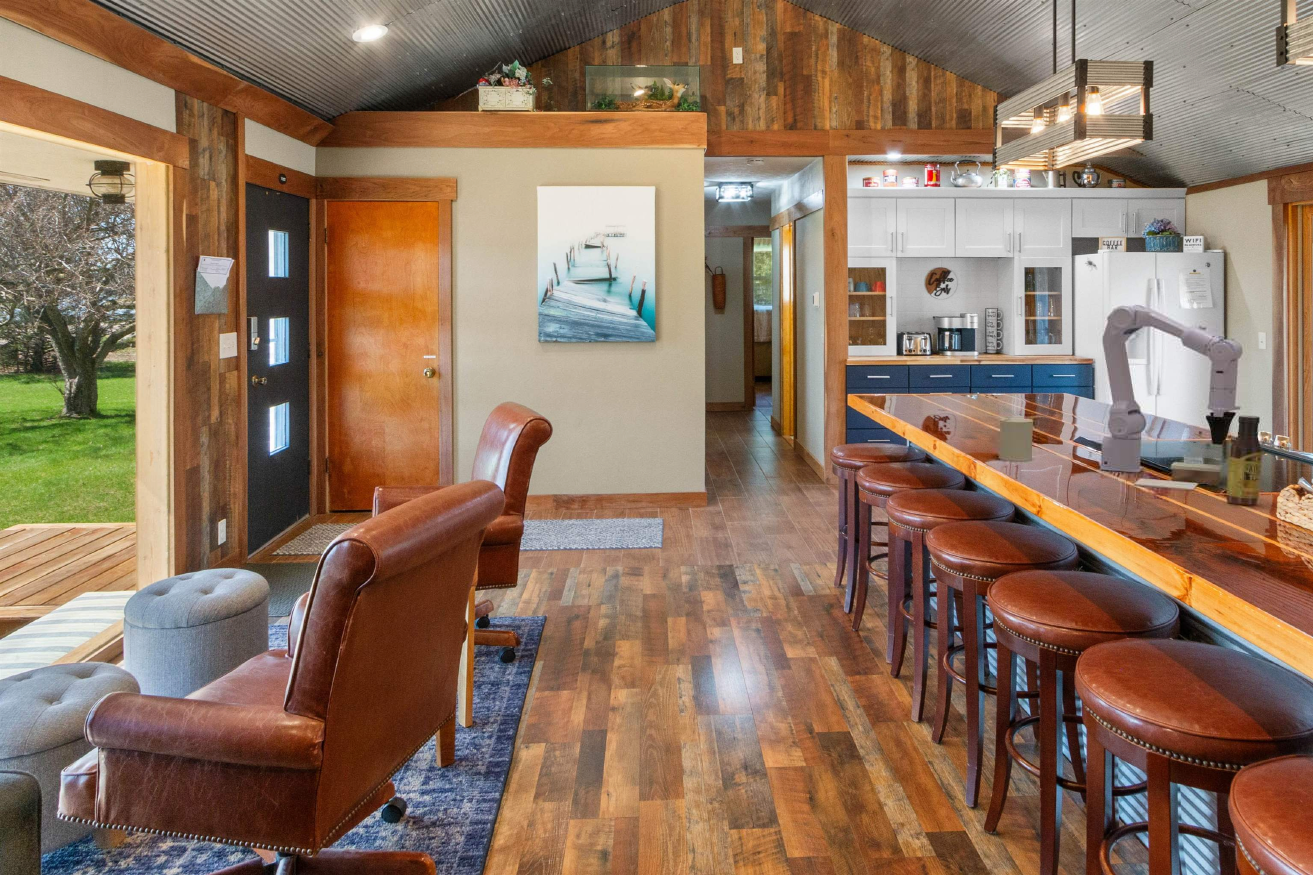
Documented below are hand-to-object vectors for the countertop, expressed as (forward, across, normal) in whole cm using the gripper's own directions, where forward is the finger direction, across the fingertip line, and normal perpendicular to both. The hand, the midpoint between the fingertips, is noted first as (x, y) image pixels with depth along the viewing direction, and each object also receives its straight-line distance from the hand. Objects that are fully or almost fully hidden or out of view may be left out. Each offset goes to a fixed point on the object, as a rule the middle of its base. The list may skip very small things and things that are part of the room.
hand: (1219, 442), depth 240 cm
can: (+10, +10, +52) cm, 54 cm away
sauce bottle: (+10, -26, -8) cm, 29 cm away
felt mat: (+10, -12, +10) cm, 18 cm away
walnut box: (+10, -4, +4) cm, 12 cm away
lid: (+6, -4, +4) cm, 9 cm away
